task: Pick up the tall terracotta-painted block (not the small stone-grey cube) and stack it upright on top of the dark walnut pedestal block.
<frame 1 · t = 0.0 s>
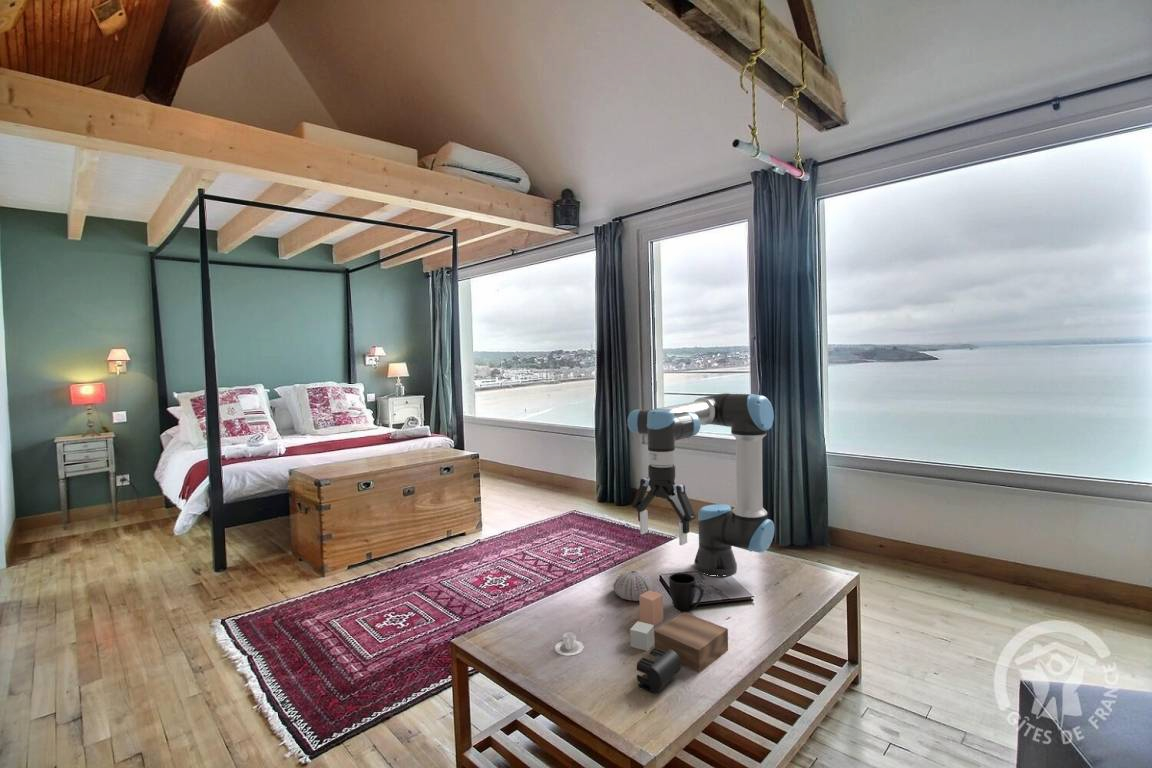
hand: (663, 538, 157), 28 cm above the table, fingers open, 13 cm apart
sea urchin shell: (634, 595, 184), on the table
end cap: (659, 684, 136), on the table
mug: (687, 610, 173), on the table
walnut block: (691, 651, 149), on the table
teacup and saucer: (579, 646, 155), on the table
grey cube: (642, 644, 154), on the table
terracotta block: (651, 620, 166), on the table
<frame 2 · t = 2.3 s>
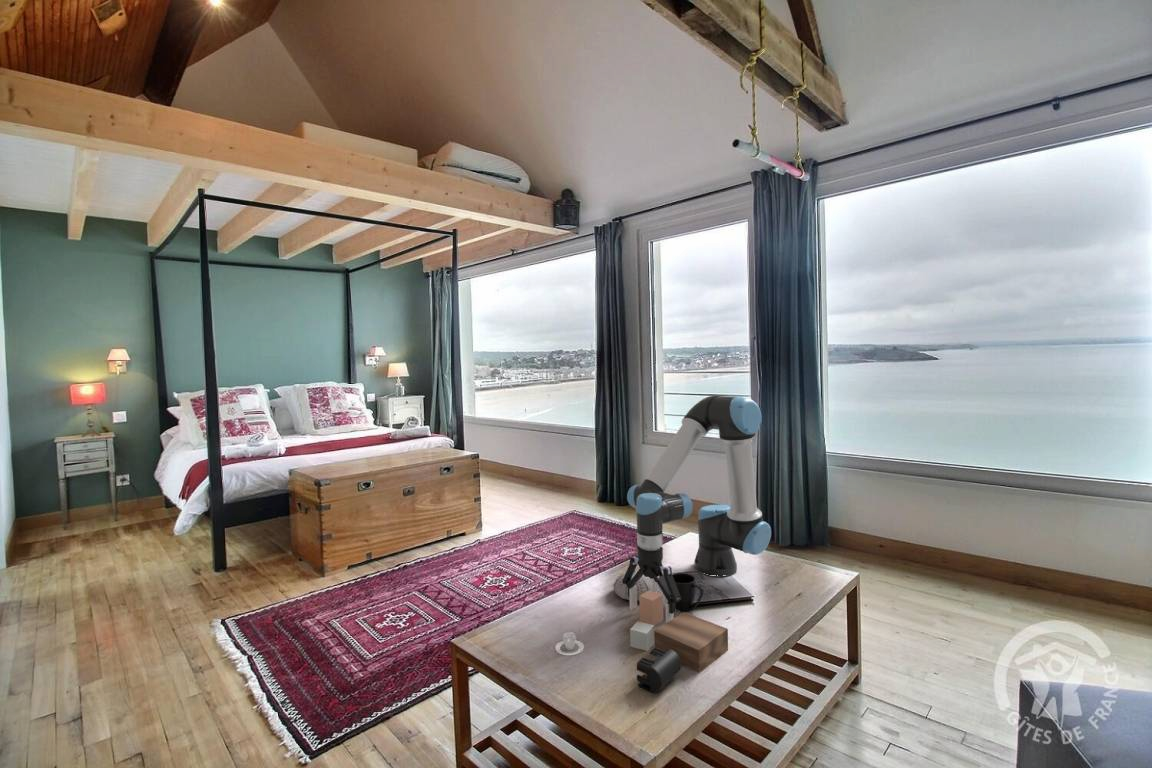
hand: (651, 615, 166), 2 cm above the table, fingers open, 13 cm apart
nothing on the table moved.
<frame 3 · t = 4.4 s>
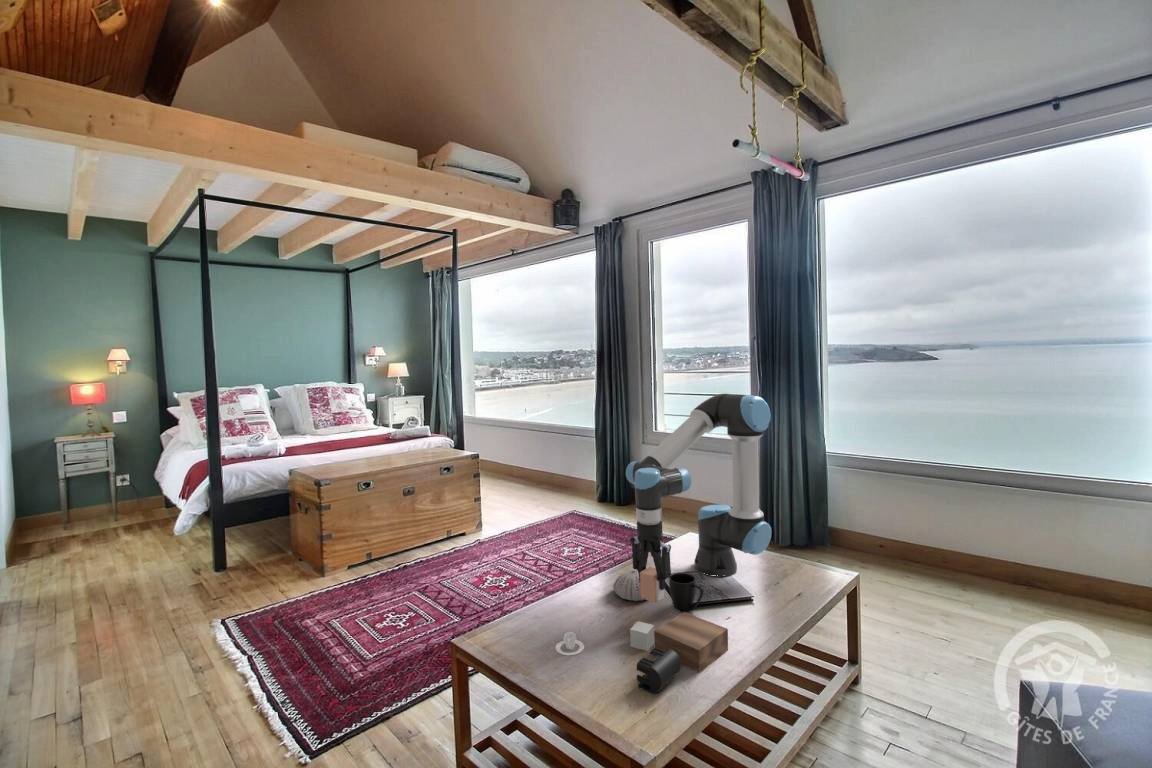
hand: (652, 595, 166), 8 cm above the table, fingers closed on terracotta block, 5 cm apart
terracotta block: (652, 597, 166), point 7 cm above the table, touching gripper
everything else where it was.
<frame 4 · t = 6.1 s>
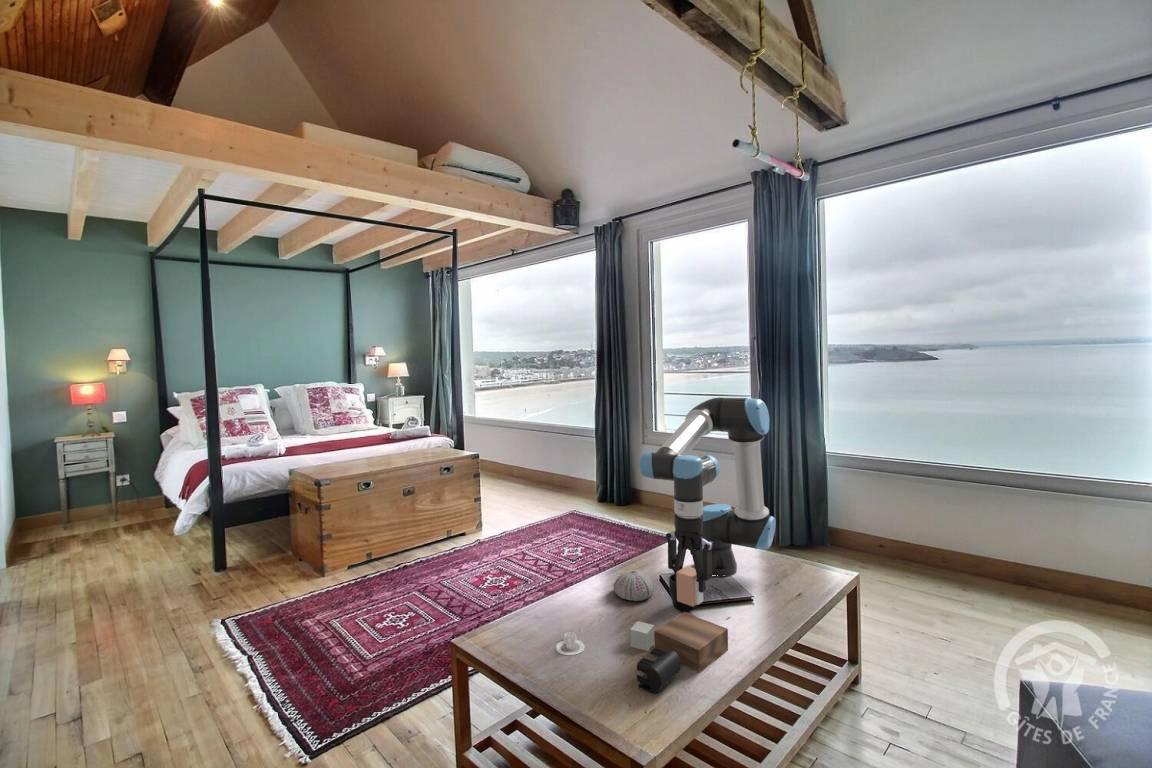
hand: (690, 599, 148), 15 cm above the table, fingers closed on terracotta block, 5 cm apart
terracotta block: (690, 600, 148), point 14 cm above the table, touching gripper
everything else where it was.
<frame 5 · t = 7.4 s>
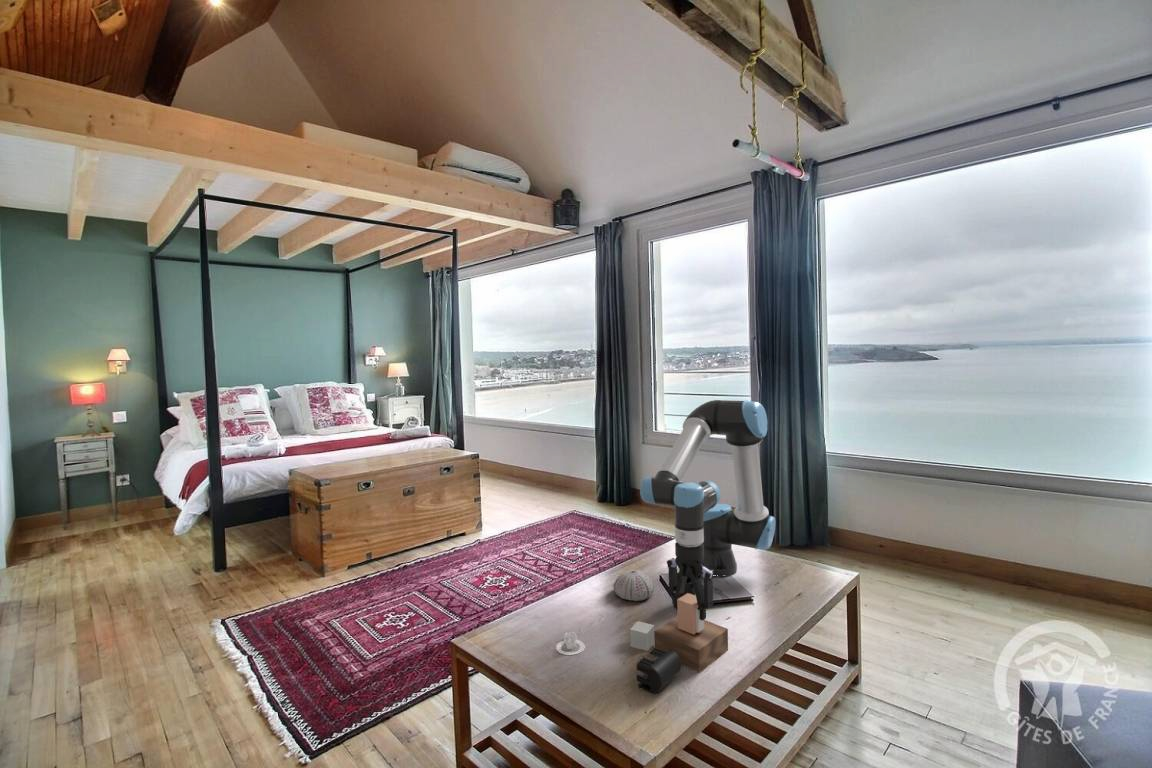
hand: (690, 626, 149), 7 cm above the table, fingers closed on terracotta block, 5 cm apart
terracotta block: (691, 627, 149), point 7 cm above the table, touching gripper
everything else where it was.
when the fingers open (7 cm above the table, at t = 8.1 s): terracotta block stays where it is, resting on walnut block.
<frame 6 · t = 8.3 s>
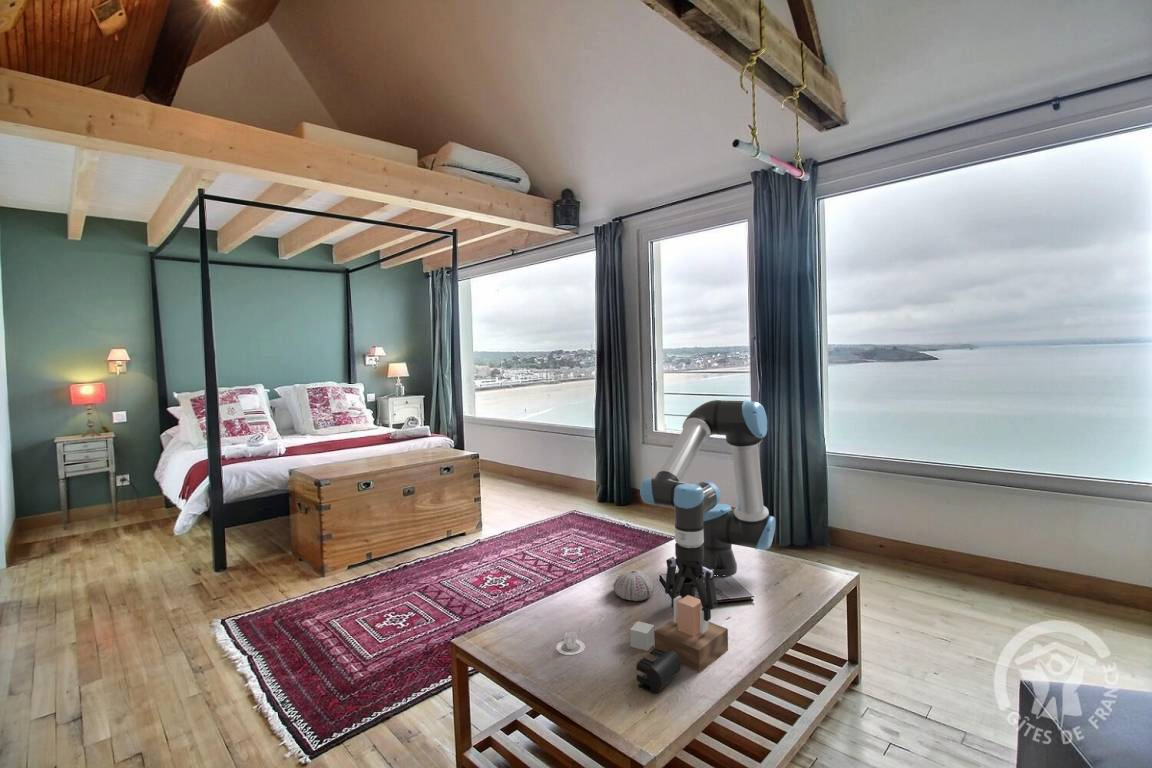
hand: (690, 625, 149), 7 cm above the table, fingers open, 8 cm apart
terracotta block: (691, 629, 149), point 6 cm above the table, touching walnut block
everything else where it was.
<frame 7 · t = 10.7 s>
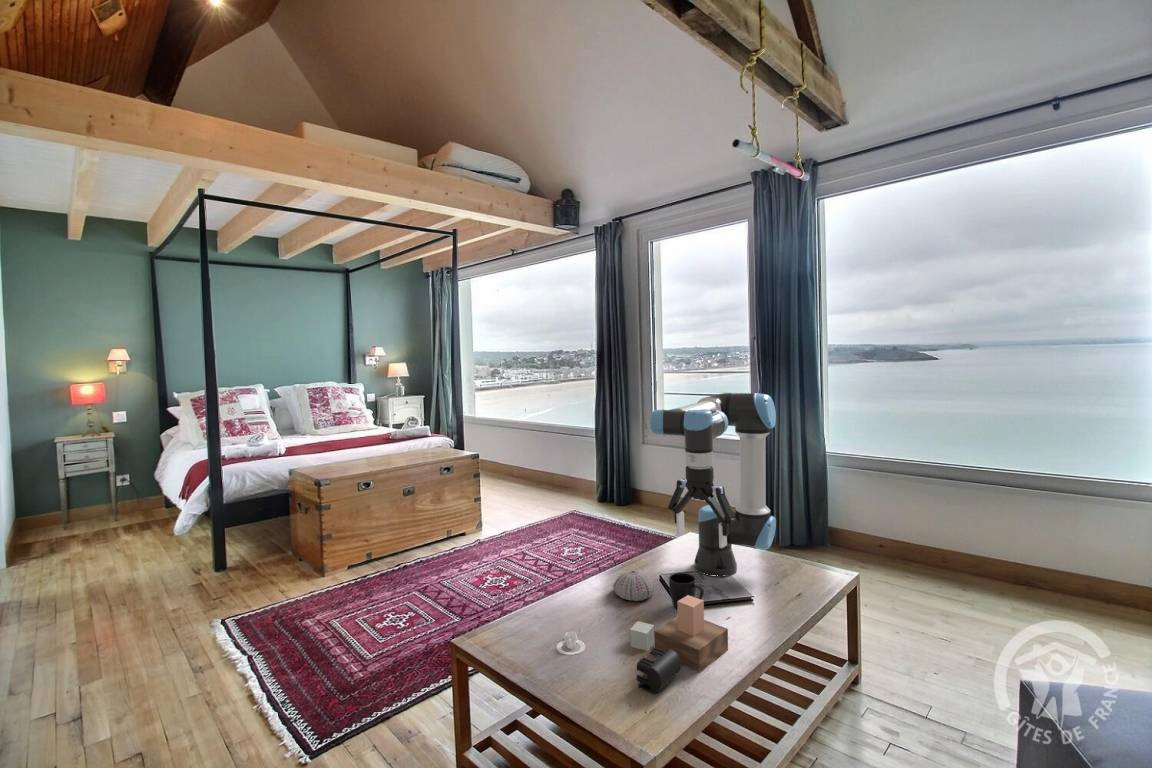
hand: (701, 540, 154), 28 cm above the table, fingers open, 13 cm apart
nothing on the table moved.
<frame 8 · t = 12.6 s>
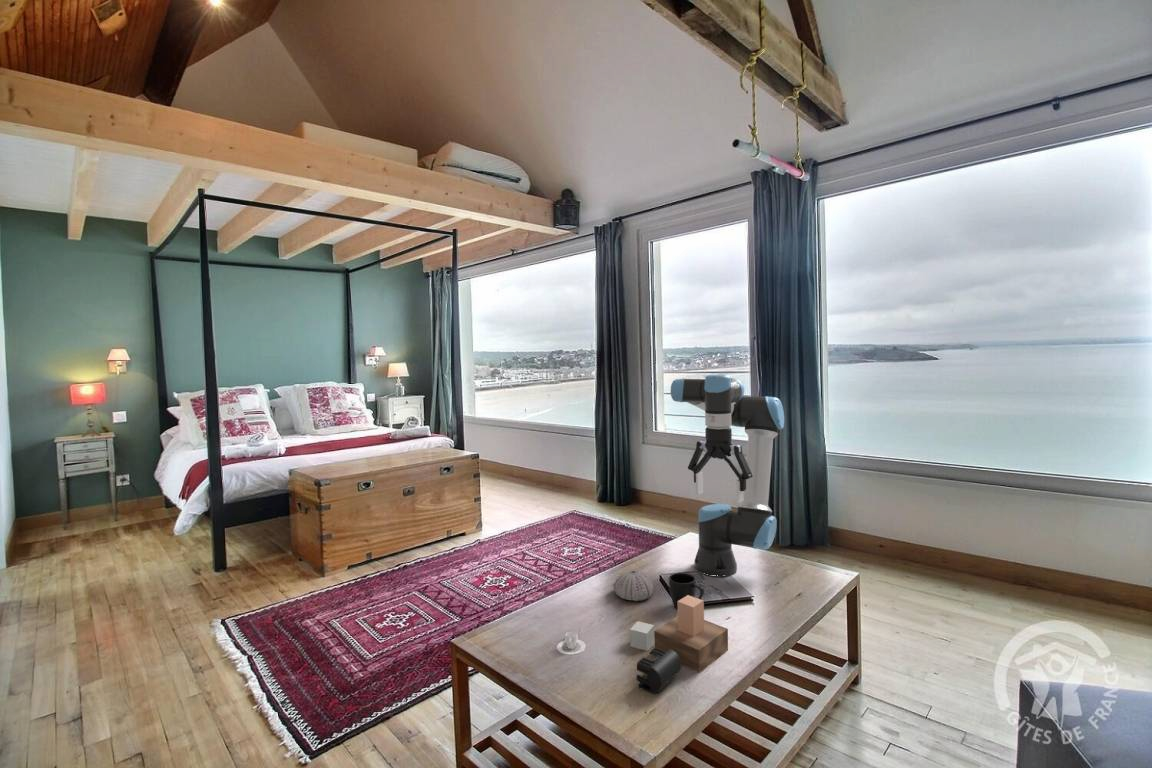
hand: (719, 497, 165), 37 cm above the table, fingers open, 13 cm apart
nothing on the table moved.
at the end: terracotta block inside the target area on the walnut block (0.1 cm from its centre), point 6.0 cm above the walnut block's base; terracotta block tilted 0°; the gripper is holding nothing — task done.
